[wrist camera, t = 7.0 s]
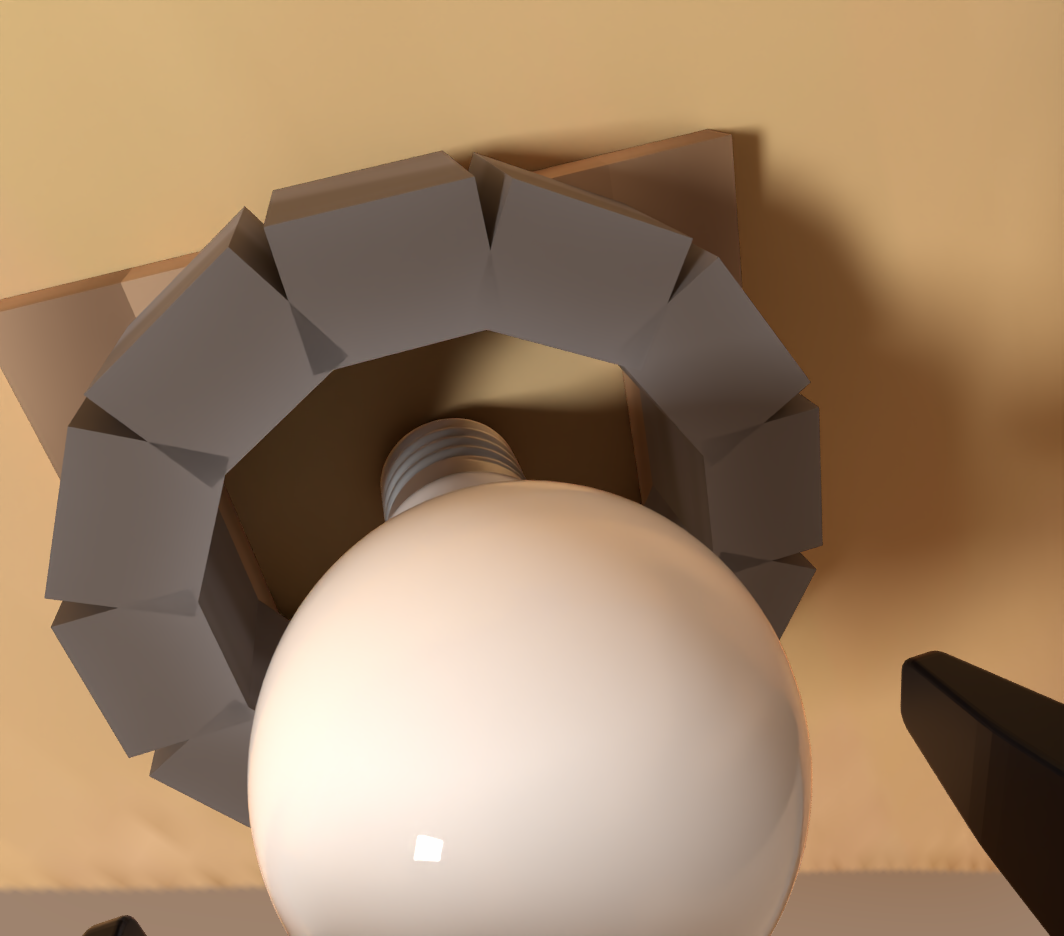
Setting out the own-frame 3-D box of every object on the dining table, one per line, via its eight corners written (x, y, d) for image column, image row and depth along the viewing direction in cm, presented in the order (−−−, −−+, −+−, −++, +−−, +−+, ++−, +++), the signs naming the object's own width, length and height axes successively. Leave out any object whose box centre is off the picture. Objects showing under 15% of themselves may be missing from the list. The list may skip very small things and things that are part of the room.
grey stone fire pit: (703, 81, 15) (824, 92, 11) (747, 614, 20) (836, 730, 17) (-29, 252, 13) (-150, 326, 10) (238, 773, 19) (222, 935, 16)
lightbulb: (460, 239, 15) (705, 563, 5) (657, 467, 18) (1043, 941, 8) (207, 468, 16) (23, 1111, 6) (435, 650, 19) (552, 1281, 9)
